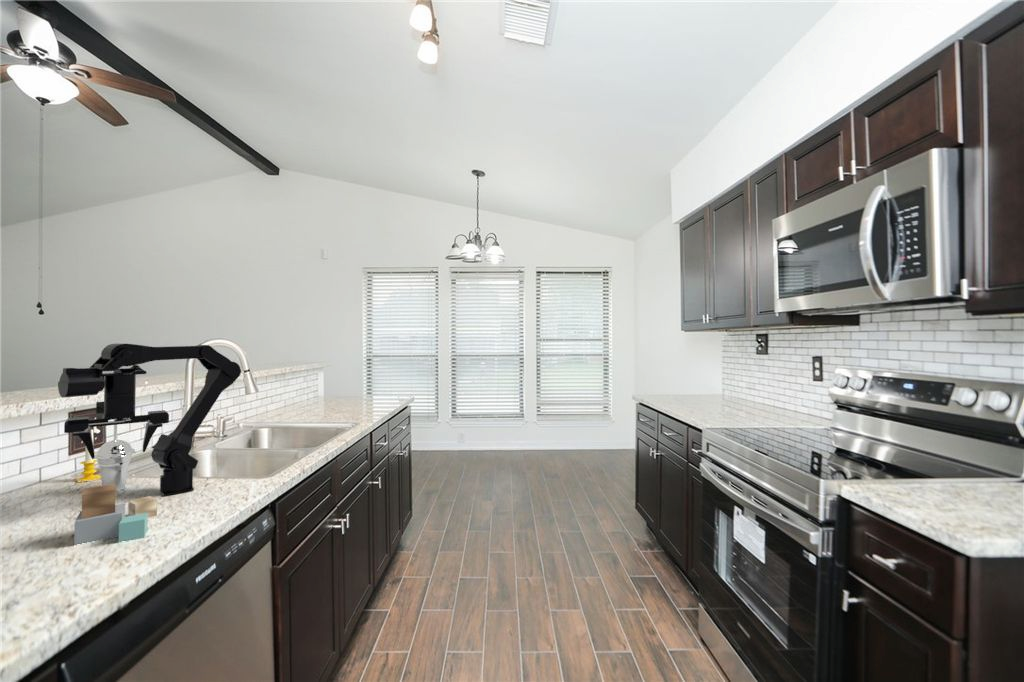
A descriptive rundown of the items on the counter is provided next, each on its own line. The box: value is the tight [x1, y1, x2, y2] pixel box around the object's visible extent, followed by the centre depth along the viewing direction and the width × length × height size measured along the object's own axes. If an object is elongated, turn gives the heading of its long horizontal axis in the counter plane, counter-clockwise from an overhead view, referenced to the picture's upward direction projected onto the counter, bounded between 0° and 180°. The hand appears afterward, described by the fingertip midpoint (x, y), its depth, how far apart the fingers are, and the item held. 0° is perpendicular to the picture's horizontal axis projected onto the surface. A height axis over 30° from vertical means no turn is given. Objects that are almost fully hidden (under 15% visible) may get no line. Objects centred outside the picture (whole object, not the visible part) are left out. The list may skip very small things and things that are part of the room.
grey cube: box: [73, 502, 126, 546], centre depth 88 cm, size 7×7×5 cm
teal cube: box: [118, 513, 149, 543], centre depth 88 cm, size 4×4×4 cm
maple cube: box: [127, 495, 158, 519], centre depth 97 cm, size 4×4×4 cm
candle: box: [76, 429, 101, 481], centre depth 123 cm, size 5×5×16 cm
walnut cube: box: [81, 484, 117, 519], centre depth 88 cm, size 5×5×5 cm
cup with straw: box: [93, 418, 136, 492], centre depth 115 cm, size 8×9×20 cm
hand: (119, 455), depth 103 cm, fingers open, 9 cm apart
